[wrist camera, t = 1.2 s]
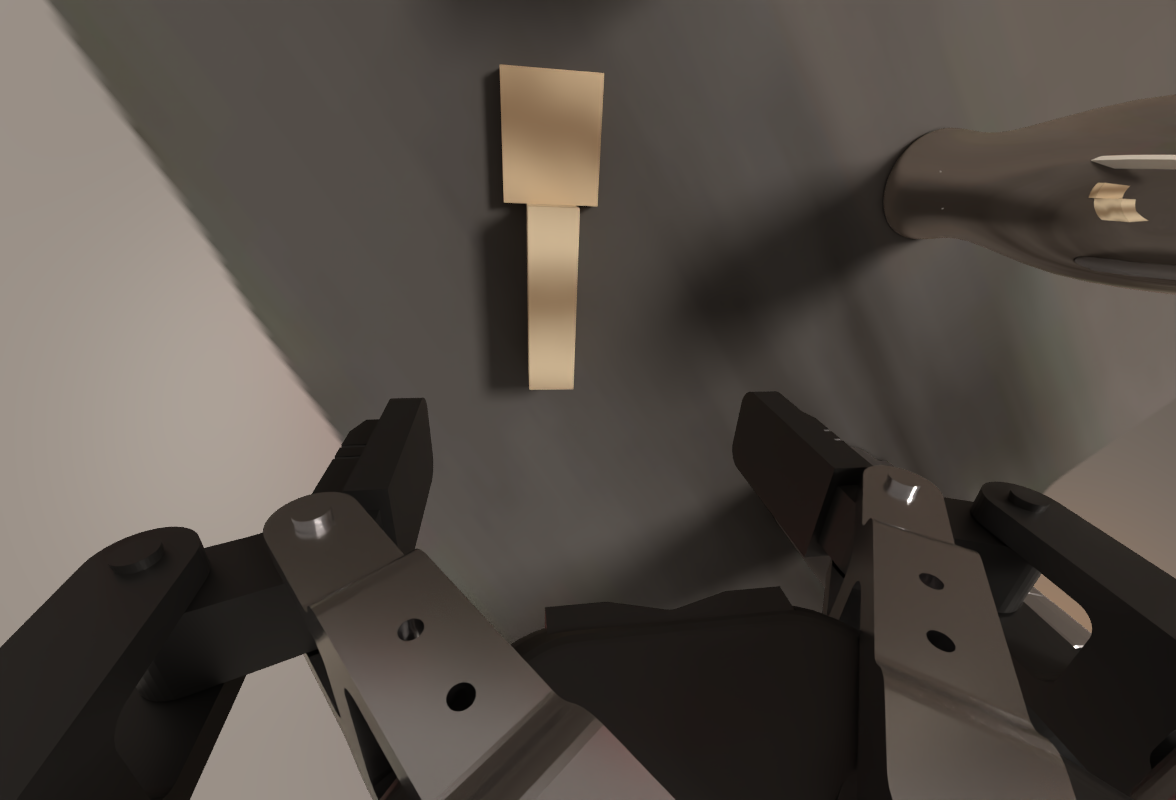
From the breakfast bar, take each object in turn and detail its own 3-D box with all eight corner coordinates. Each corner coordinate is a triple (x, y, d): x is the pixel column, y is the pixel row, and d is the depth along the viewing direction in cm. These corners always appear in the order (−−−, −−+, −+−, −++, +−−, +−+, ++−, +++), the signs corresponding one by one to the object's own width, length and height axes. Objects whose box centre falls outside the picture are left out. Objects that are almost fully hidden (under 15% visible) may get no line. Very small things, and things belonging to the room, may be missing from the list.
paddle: (586, 369, 31) (593, 388, 28) (509, 370, 30) (508, 390, 27) (600, 76, 24) (611, 65, 21) (500, 68, 23) (498, 55, 20)
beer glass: (980, 94, 26) (1453, 21, 13) (988, 211, 30) (1375, 247, 16) (865, 158, 27) (1204, 150, 14) (885, 265, 30) (1177, 343, 17)
